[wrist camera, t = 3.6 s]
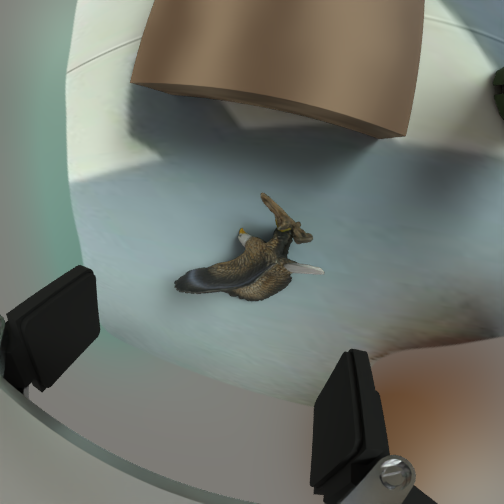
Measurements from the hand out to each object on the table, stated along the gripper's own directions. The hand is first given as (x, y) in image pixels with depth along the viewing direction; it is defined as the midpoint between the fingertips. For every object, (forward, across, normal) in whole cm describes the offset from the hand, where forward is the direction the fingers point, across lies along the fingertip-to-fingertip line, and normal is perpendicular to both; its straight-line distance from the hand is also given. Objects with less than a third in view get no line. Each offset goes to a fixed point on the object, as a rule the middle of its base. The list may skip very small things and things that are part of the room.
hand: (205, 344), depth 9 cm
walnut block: (+14, +1, -17) cm, 22 cm away
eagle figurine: (+14, 0, +2) cm, 14 cm away
